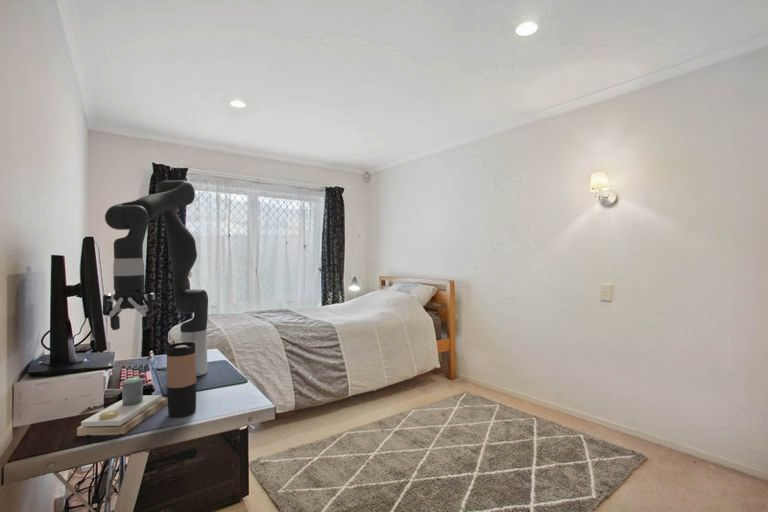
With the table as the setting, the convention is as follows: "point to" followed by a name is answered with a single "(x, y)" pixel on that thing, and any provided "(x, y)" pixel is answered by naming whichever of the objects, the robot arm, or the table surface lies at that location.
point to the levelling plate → (124, 405)
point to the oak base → (125, 426)
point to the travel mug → (181, 379)
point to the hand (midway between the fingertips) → (130, 329)
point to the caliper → (112, 392)
